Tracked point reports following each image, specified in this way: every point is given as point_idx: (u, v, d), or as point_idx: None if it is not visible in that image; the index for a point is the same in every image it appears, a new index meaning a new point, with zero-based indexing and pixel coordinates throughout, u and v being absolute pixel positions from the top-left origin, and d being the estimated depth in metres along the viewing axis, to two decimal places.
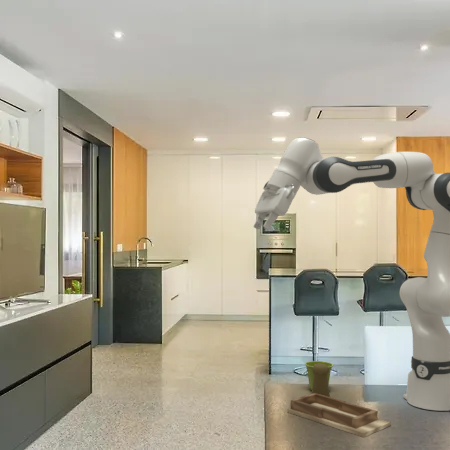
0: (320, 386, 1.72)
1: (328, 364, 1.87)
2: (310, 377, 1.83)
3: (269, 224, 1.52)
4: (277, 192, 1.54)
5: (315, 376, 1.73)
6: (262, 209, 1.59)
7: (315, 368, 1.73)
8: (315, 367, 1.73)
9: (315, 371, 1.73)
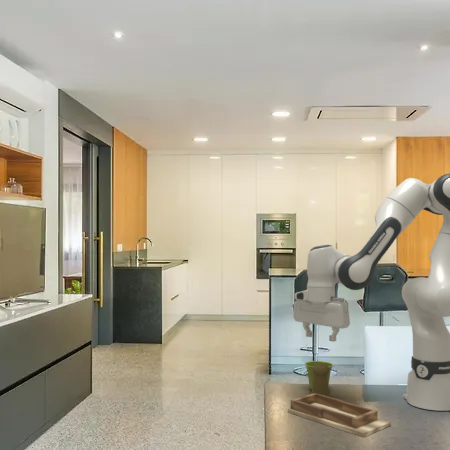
0: (320, 386, 1.72)
1: (328, 364, 1.87)
2: (310, 377, 1.83)
3: (335, 337, 1.70)
4: (328, 307, 1.70)
5: (315, 376, 1.73)
6: (313, 322, 1.74)
7: (315, 368, 1.73)
8: (315, 367, 1.73)
9: (315, 371, 1.73)
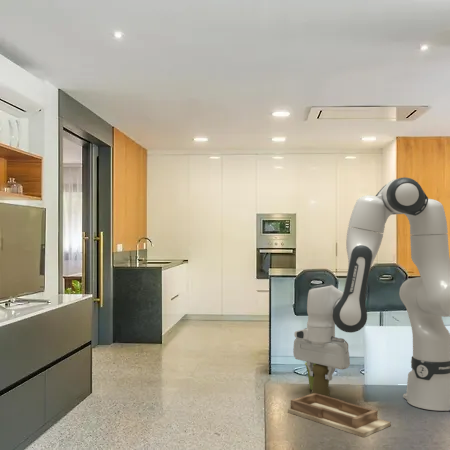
0: (320, 386, 1.72)
1: None
2: (310, 377, 1.83)
3: (331, 376, 1.71)
4: (328, 347, 1.70)
5: (315, 376, 1.73)
6: (313, 361, 1.74)
7: (315, 368, 1.73)
8: (315, 367, 1.73)
9: (315, 371, 1.73)
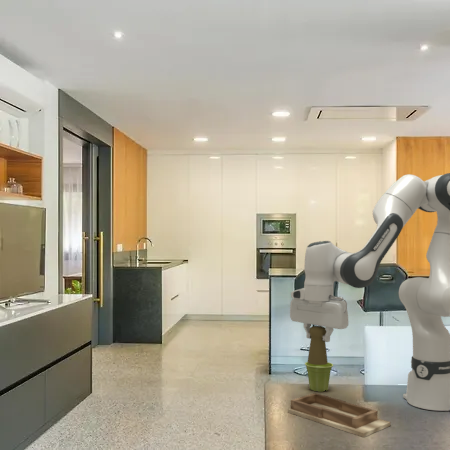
0: (317, 349, 1.63)
1: (328, 364, 1.87)
2: (310, 377, 1.83)
3: (328, 337, 1.63)
4: (326, 307, 1.61)
5: (312, 338, 1.65)
6: (310, 322, 1.66)
7: (312, 330, 1.64)
8: (312, 329, 1.64)
9: (311, 332, 1.64)
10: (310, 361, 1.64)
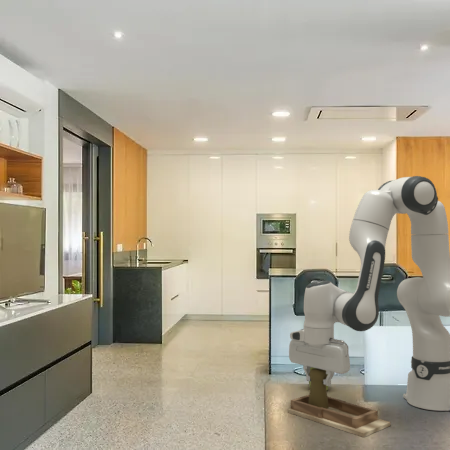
0: (318, 393, 1.58)
1: None
2: None
3: (329, 381, 1.58)
4: (326, 350, 1.56)
5: (312, 382, 1.60)
6: (310, 365, 1.61)
7: (312, 373, 1.59)
8: (312, 372, 1.59)
9: (312, 376, 1.59)
10: None
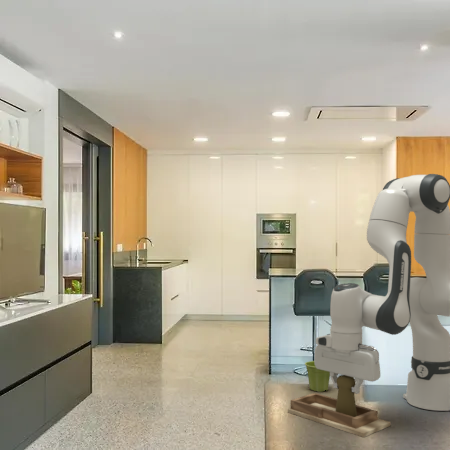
0: (346, 401, 1.51)
1: None
2: (310, 377, 1.83)
3: (358, 388, 1.51)
4: (355, 356, 1.49)
5: (340, 389, 1.52)
6: (337, 371, 1.53)
7: (340, 380, 1.52)
8: (340, 379, 1.52)
9: (339, 383, 1.52)
10: None
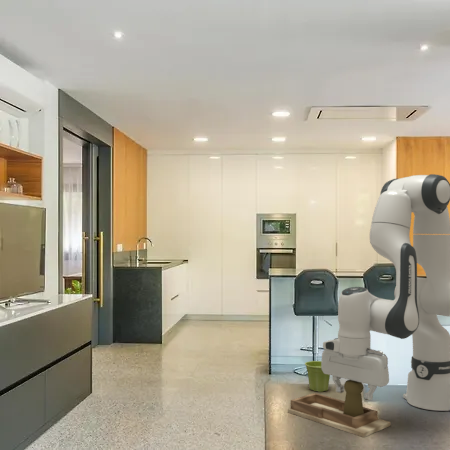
0: (353, 406, 1.49)
1: None
2: (310, 377, 1.83)
3: (371, 395, 1.47)
4: (364, 361, 1.47)
5: (347, 394, 1.50)
6: (345, 376, 1.51)
7: (348, 385, 1.50)
8: (347, 384, 1.50)
9: (347, 388, 1.50)
10: None
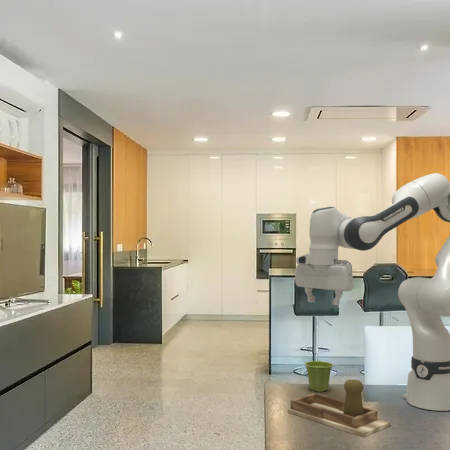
0: (353, 406, 1.49)
1: (328, 364, 1.87)
2: (310, 377, 1.83)
3: (338, 301, 1.65)
4: (331, 270, 1.65)
5: (347, 394, 1.50)
6: (315, 286, 1.69)
7: (348, 385, 1.50)
8: (347, 384, 1.50)
9: (347, 388, 1.50)
10: None
